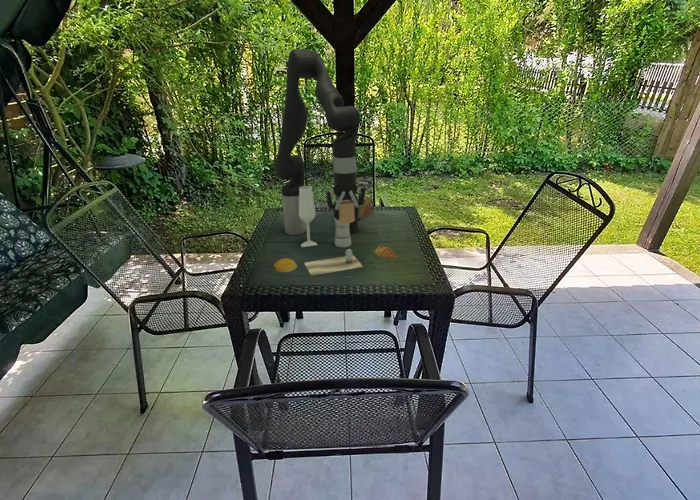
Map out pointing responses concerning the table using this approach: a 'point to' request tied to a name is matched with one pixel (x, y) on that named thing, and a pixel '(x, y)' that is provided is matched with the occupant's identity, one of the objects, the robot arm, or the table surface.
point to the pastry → (385, 252)
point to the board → (331, 265)
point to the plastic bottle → (342, 234)
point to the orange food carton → (365, 208)
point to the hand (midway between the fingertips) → (346, 217)
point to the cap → (346, 211)
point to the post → (348, 256)
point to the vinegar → (354, 223)
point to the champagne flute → (306, 210)
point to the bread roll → (285, 265)
